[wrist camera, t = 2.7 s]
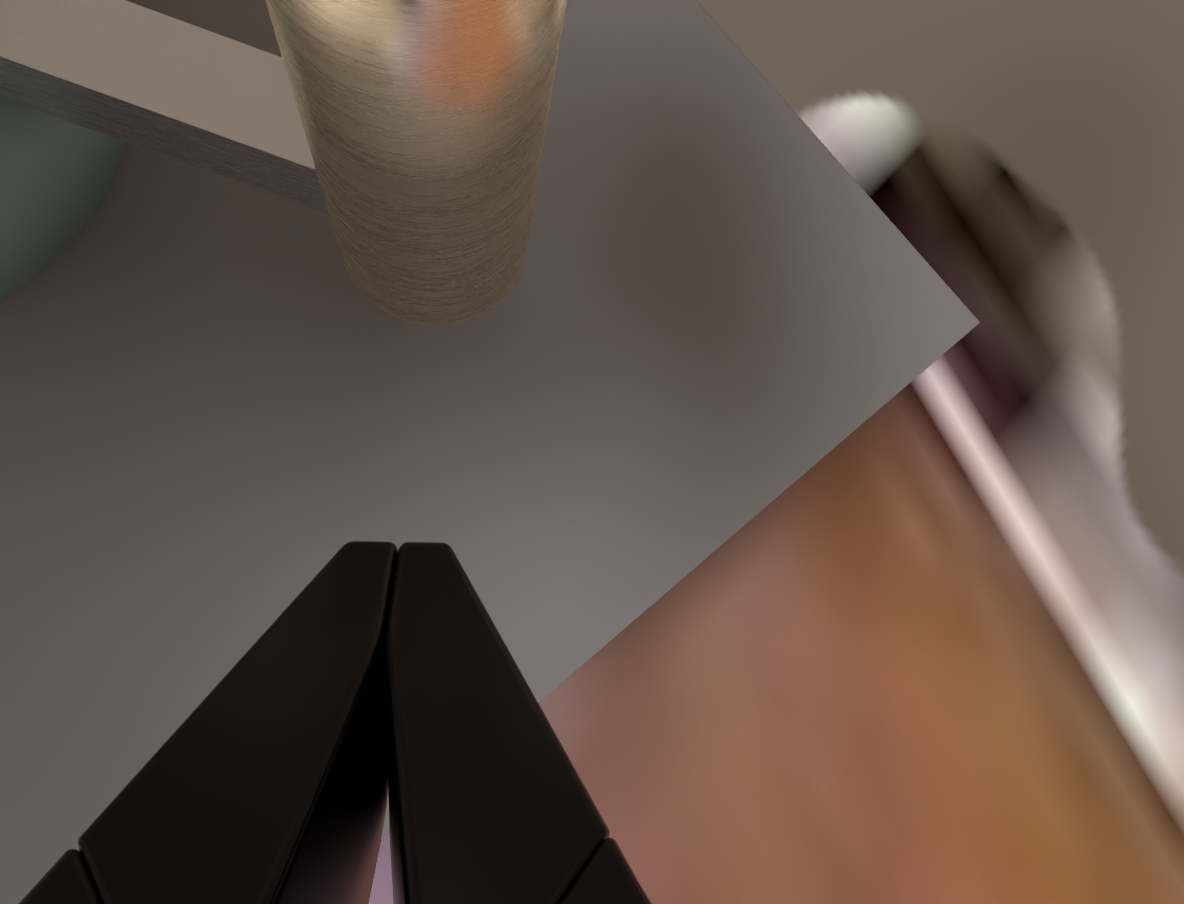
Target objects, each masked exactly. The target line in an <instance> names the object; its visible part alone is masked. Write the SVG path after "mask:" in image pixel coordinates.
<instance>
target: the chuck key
mask: <svg viewBox="0 0 1184 904" xmlns="http://www.w3.org/2000/svg"><path fill="white" fill-rule="evenodd" d="M265 2H266V5H267V9H268V12H269V15H270V19H271V22H272V25H273V29H274V32H275V35H276V39H277V42H278V45H279V49H280V52H281V55H282V57H279V56H277V55H274V54H271V53H268V52H266V51H263V50H260V49H257V48H255V47H252V46H249V45H247V44H244V43H241V42H238V41H236V40H233V39H230V38H227V37H225V36H222V35H219V34H216V33H214V32H211V31H208V30H205V29H203V28H200V27H197V26H195V25H192V24H189V23H186V22H184V21H181V20H178V19H175V18H173V17H170V16H167V15H164V14H162V13H159V12H156V11H154V10H151V9H148V8H145V7H143V6H140V5H137V4H134V3H132V2H129V1H126V0H0V97H1V98H3V99H6V100H9V101H12V102H15V103H17V104H20V105H23V106H26V107H29V108H31V109H34V110H37V111H40V112H43V113H45V114H48V115H51V116H54V117H57V118H59V119H62V120H65V121H68V122H71V123H73V124H76V125H79V126H82V127H85V128H87V129H90V130H93V131H96V132H99V133H101V134H104V135H107V136H110V137H113V138H115V139H118V140H121V141H124V142H127V143H129V144H132V145H135V146H138V147H141V148H143V149H146V150H149V151H152V152H155V153H157V154H160V155H163V156H166V157H169V158H171V159H174V160H177V161H180V162H183V163H185V164H188V165H191V166H194V167H197V168H199V169H202V170H205V171H208V172H211V173H213V174H216V175H219V176H222V177H225V178H227V179H230V180H233V181H236V182H239V183H241V184H244V185H247V186H250V187H253V188H255V189H258V190H261V191H264V192H267V193H269V194H272V195H275V196H278V197H281V198H283V199H286V200H289V201H292V202H295V203H297V204H300V205H303V206H306V207H309V208H311V209H314V210H317V211H320V212H323V213H325V214H328V215H329V216H330V220H331V223H332V226H333V230H334V233H335V236H336V240H337V243H338V246H339V250H340V253H341V256H342V260H343V263H344V265H345V268H346V270H347V273H348V275H349V276H350V278H351V280H352V282H353V283H354V285H355V286H356V287H357V289H358V290H359V291H360V292H361V294H362V295H363V296H364V297H365V298H366V299H367V300H368V301H369V302H371V303H372V304H373V305H375V306H376V307H377V308H379V309H380V310H382V311H383V312H385V313H387V314H389V315H390V316H393V317H395V318H397V319H400V320H402V321H406V322H409V323H413V324H418V325H425V326H446V325H453V324H458V323H462V322H466V321H468V320H471V319H474V318H476V317H478V316H480V315H482V314H484V313H486V312H487V311H489V310H490V309H492V308H493V307H495V306H496V305H497V304H498V303H499V302H500V301H502V300H503V299H504V298H505V297H506V295H507V294H508V293H509V292H510V291H511V289H512V288H513V286H514V285H515V283H516V282H517V280H518V278H519V276H520V274H521V271H522V269H523V266H524V262H525V259H526V253H527V247H528V241H529V235H530V228H531V222H532V216H533V210H534V203H535V197H536V191H537V185H538V178H539V172H540V166H541V160H542V153H543V147H544V141H545V135H546V128H547V122H548V116H549V110H550V103H551V97H552V91H553V85H554V78H555V72H556V66H557V60H558V53H559V47H560V41H561V35H562V28H563V22H564V16H565V10H566V3H567V0H265Z"/></svg>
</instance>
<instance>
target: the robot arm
mask: <svg viewBox="0 0 1184 904" xmlns="http://www.w3.org/2000/svg"><path fill="white" fill-rule="evenodd" d="M388 794H389V828H390V849H391V866H392V883H393V900H394V904H652V903H651V902H650V900H649V898H648V897H647V895H646V894H645V892H644V890H643V889H642V887H641V885H640V884H639V882H638V880H637V878H636V877H635V875H634V873H633V871H632V869H631V868H630V866H629V864H628V862H627V860H626V859H625V857H624V855H623V853H622V851H621V850H620V848H619V846H618V844H617V842H616V841H615V840H614V839H613V838H609V829H608V827H607V826H606V824H605V822H604V820H603V818H602V817H601V815H600V813H599V811H598V809H597V808H596V806H595V804H594V802H593V800H592V799H591V797H590V795H589V793H588V791H587V790H586V788H585V786H584V784H583V782H582V781H581V779H580V777H579V775H578V773H577V772H576V770H575V768H574V766H573V765H572V763H571V761H570V759H569V757H568V756H567V754H566V752H565V750H564V748H563V747H562V745H561V743H560V741H559V739H558V738H557V736H556V734H555V732H554V730H553V729H552V727H551V725H550V723H549V721H548V720H547V718H546V716H545V714H544V712H543V711H542V709H541V707H540V705H539V703H538V702H537V700H536V698H535V696H534V695H533V693H532V691H531V689H530V687H529V686H528V684H527V682H526V680H525V678H524V677H523V675H522V673H521V671H520V669H519V668H518V666H517V664H516V662H515V660H514V659H513V657H512V655H511V653H510V651H509V650H508V648H507V646H506V644H505V642H504V641H503V639H502V637H501V635H500V633H499V632H498V630H497V628H496V626H495V624H494V623H493V621H492V619H491V617H490V616H489V614H488V612H487V610H486V608H485V607H484V605H483V603H482V601H481V599H480V598H479V596H478V594H477V592H476V590H475V589H474V587H473V585H472V583H471V581H470V580H469V578H468V576H467V574H466V572H465V571H464V569H463V567H462V565H461V563H460V562H459V560H458V558H457V556H456V554H455V553H454V551H453V549H452V548H451V547H450V546H449V545H448V544H446V543H439V542H405V543H403V544H402V545H401V546H400V548H399V549H398V548H397V547H396V545H395V544H394V543H392V542H378V541H352V542H348V543H346V544H345V545H343V546H342V547H341V549H340V550H339V551H338V552H337V553H336V554H335V555H334V556H333V557H332V558H331V560H330V561H329V562H328V563H327V564H326V565H325V566H324V567H323V568H322V570H321V571H320V572H319V573H318V574H317V575H316V576H315V577H314V578H313V580H312V581H311V582H310V583H309V584H308V585H307V586H306V587H305V588H304V589H303V591H302V592H301V593H300V594H299V595H298V596H297V597H296V598H295V599H294V601H293V602H292V603H291V604H290V605H289V606H288V607H287V608H286V609H285V610H284V612H283V613H282V614H281V615H280V616H279V617H278V618H277V619H276V620H275V622H274V623H273V624H272V625H271V626H270V627H269V628H268V629H267V630H266V632H265V633H264V634H263V635H262V636H261V637H260V638H259V639H258V640H257V641H256V643H255V644H254V645H253V646H252V647H251V648H250V649H249V650H248V651H247V653H246V654H245V655H244V656H243V657H242V658H241V659H240V660H239V661H238V662H237V664H236V665H235V666H234V667H233V668H232V669H231V670H230V671H229V672H228V674H227V675H226V676H225V677H224V678H223V679H222V680H221V681H220V682H219V684H218V685H217V686H216V687H215V688H214V689H213V690H212V691H211V692H210V693H209V695H208V696H207V697H206V698H205V699H204V700H203V701H202V702H201V703H200V705H199V706H198V707H197V708H196V709H195V710H194V711H193V712H192V713H191V715H190V716H189V717H188V718H187V719H186V720H185V721H184V722H183V723H182V724H181V726H180V727H179V728H178V729H177V730H176V731H175V732H174V733H173V734H172V736H171V737H170V738H169V739H168V740H167V741H166V742H165V743H164V744H163V745H162V747H161V748H160V749H159V750H158V751H157V752H156V753H155V754H154V755H153V757H152V758H151V759H150V760H149V761H148V762H147V763H146V764H145V765H144V767H143V768H142V769H141V770H140V771H139V772H138V773H137V774H136V775H135V776H134V778H133V779H132V780H131V781H130V782H129V783H128V784H127V785H126V786H125V788H124V789H123V790H122V791H121V792H120V793H119V794H118V795H117V796H116V798H115V799H114V800H113V801H112V802H111V803H110V804H109V805H108V806H107V807H106V809H105V810H104V811H103V812H102V813H101V814H100V815H99V816H98V817H97V819H96V820H95V821H94V822H93V823H92V824H91V825H90V826H89V827H88V828H87V830H86V831H85V832H84V833H83V834H82V835H81V836H80V837H79V838H78V840H77V842H76V846H77V850H76V849H69V850H67V851H66V852H65V853H64V854H63V855H62V856H61V857H60V859H59V860H58V861H57V862H56V863H55V864H54V865H53V866H52V868H51V869H50V870H49V871H48V872H47V873H46V874H45V875H44V876H43V878H42V879H41V880H40V881H39V882H38V883H37V884H36V885H35V886H34V887H33V889H32V890H31V891H30V892H29V893H28V894H27V895H26V896H25V897H24V898H23V899H22V900H21V902H20V903H19V904H368V903H369V898H370V893H371V888H372V882H373V877H374V872H375V867H376V862H377V857H378V852H379V847H380V842H381V837H382V831H383V825H384V819H385V814H386V807H387V798H388Z"/></svg>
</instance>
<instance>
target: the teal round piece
mask: <svg viewBox="0 0 1184 904" xmlns="http://www.w3.org/2000/svg"><path fill="white" fill-rule="evenodd" d="M126 143H127V142H124V141H121V140H118V139H115V138H113V137H110V136H107V135H104V134H101V133H99V132H96V131H93V130H90V129H87V128H85V127H82V126H79V125H76V124H73V123H71V122H68V121H65V120H62V119H59V118H57V117H54V116H51V115H48V114H45V113H43V112H40V111H37V110H34V109H31V108H29V107H26V106H23V105H20V104H17V103H15V102H12V101H9V100H6V99H3V98H1V97H0V302H1V301H3V300H5V299H6V298H7V297H9V296H10V295H11V294H13V293H14V292H16V291H17V290H18V289H20V288H21V287H22V286H24V285H25V284H27V283H28V282H29V281H31V280H32V279H33V278H35V277H36V276H37V275H38V274H39V273H41V272H42V271H43V270H44V269H45V268H46V267H47V266H48V265H49V264H50V263H51V262H52V261H53V260H55V259H56V258H57V257H58V256H59V255H60V254H61V253H62V252H63V251H64V250H65V249H66V248H67V247H68V245H69V244H70V243H71V242H72V241H73V239H74V238H75V237H76V236H77V235H78V233H79V232H80V231H81V230H82V229H83V227H84V226H85V225H86V224H87V223H88V221H89V220H90V218H91V217H92V215H93V213H94V212H95V210H96V209H97V207H98V205H99V204H100V202H101V201H102V199H103V198H104V196H105V194H106V193H107V191H108V189H109V187H110V185H111V182H112V180H113V178H114V176H115V174H116V171H117V169H118V167H119V165H120V162H121V160H122V157H123V154H124V150H125V147H126Z"/></svg>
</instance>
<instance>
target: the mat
mask: <svg viewBox="0 0 1184 904" xmlns="http://www.w3.org/2000/svg"><path fill="white" fill-rule="evenodd" d="M126 1H129V2H132V3H134V4H137V5H140V6H143V7H145V8H148V9H151V10H154V11H156V12H159V13H162V14H164V15H167V16H170V17H173V18H175V19H178V20H181V21H184V22H186V23H189V24H192V25H195V26H197V27H200V28H203V29H205V30H208V31H211V32H214V33H216V34H219V35H222V36H225V37H227V38H230V39H233V40H236V41H238V42H241V43H244V44H247V45H249V46H252V47H255V48H257V49H260V50H263V51H266V52H268V53H271V54H274V55H277V56H279V57H282V55H281V52H280V49H279V45H278V42H277V39H276V35H275V32H274V29H273V25H272V22H271V19H270V15H269V12H268V9H267V5H266V2H265V0H126ZM979 323H980V322H979V321H978V320H977V319H976V317H975V316H974V315H973V314H972V313H971V312H970V311H969V310H968V308H967V307H966V306H965V305H964V304H963V303H962V302H961V300H960V299H959V298H958V297H957V296H956V295H955V294H954V292H953V291H952V290H951V289H950V288H949V287H948V286H947V285H946V283H945V282H944V281H943V280H942V279H941V278H940V277H939V275H938V274H937V273H936V272H935V271H934V270H933V269H932V267H931V266H930V265H929V264H928V263H927V262H926V261H925V260H924V258H923V257H922V256H921V255H920V254H919V253H918V252H917V250H916V249H915V248H914V247H913V246H912V245H911V244H910V242H909V241H908V240H907V239H906V238H905V237H904V236H903V235H902V233H901V232H900V231H899V230H898V229H897V228H896V227H895V225H894V224H893V223H892V222H891V221H890V220H889V219H888V217H887V216H886V215H885V214H884V213H883V212H882V211H881V210H880V208H879V207H878V206H877V205H876V204H875V203H874V202H873V200H872V199H871V198H870V197H869V196H868V195H867V194H866V192H865V191H864V190H863V189H862V188H861V187H860V186H859V184H858V183H857V182H856V181H855V180H854V179H853V178H852V177H851V175H850V174H849V173H848V172H847V171H846V170H845V169H844V167H843V166H842V165H841V164H840V163H839V162H838V161H837V159H836V158H835V157H834V156H833V155H832V154H831V153H830V152H829V150H828V149H827V148H826V147H825V146H824V145H823V144H822V142H821V141H820V140H819V139H818V138H817V137H816V136H815V134H814V133H813V132H812V131H811V130H810V129H809V128H808V127H807V125H806V124H805V123H804V122H803V121H802V120H801V119H800V117H799V116H798V115H797V114H796V113H795V112H794V111H793V109H792V108H791V107H790V106H789V105H788V104H787V103H786V102H785V100H784V99H783V98H782V97H781V96H780V95H779V94H778V92H777V91H776V90H775V89H774V88H773V87H772V86H771V84H769V82H768V81H767V80H766V79H765V78H764V77H763V75H762V74H761V73H760V72H759V71H758V70H757V69H756V67H755V66H754V65H753V64H752V63H751V62H750V61H749V59H748V58H747V57H746V56H745V55H744V54H743V53H742V52H741V51H740V49H739V48H738V47H737V46H736V45H735V44H734V43H733V41H732V40H731V39H730V38H729V37H728V36H727V34H726V33H725V32H724V31H723V30H722V29H721V28H720V27H719V25H718V24H717V23H716V22H715V21H714V20H713V19H712V17H711V16H710V15H709V14H708V13H707V12H706V11H705V9H704V8H703V7H702V6H701V5H700V4H699V3H698V1H697V0H567V3H566V10H565V16H564V22H563V28H562V35H561V41H560V47H559V53H558V60H557V66H556V72H555V78H554V85H553V91H552V97H551V103H550V110H549V116H548V122H547V128H546V135H545V141H544V147H543V153H542V160H541V166H540V172H539V178H538V185H537V191H536V197H535V203H534V210H533V216H532V222H531V228H530V235H529V241H528V247H527V253H526V259H525V262H524V266H523V269H522V271H521V274H520V276H519V278H518V280H517V282H516V283H515V285H514V286H513V288H512V289H511V291H510V292H509V293H508V294H507V295H506V297H505V298H504V299H503V300H502V301H500V302H499V303H498V304H497V305H496V306H495V307H493V308H492V309H490V310H489V311H487V312H486V313H484V314H482V315H480V316H478V317H476V318H474V319H471V320H468V321H466V322H462V323H458V324H453V325H446V326H425V325H418V324H413V323H409V322H406V321H402V320H400V319H397V318H395V317H393V316H390V315H389V314H387V313H385V312H383V311H382V310H380V309H379V308H377V307H376V306H375V305H373V304H372V303H371V302H369V301H368V300H367V299H366V298H365V297H364V296H363V295H362V294H361V292H360V291H359V290H358V289H357V287H356V286H355V285H354V283H353V282H352V280H351V278H350V276H349V275H348V273H347V270H346V268H345V265H344V263H343V260H342V256H341V253H340V250H339V246H338V243H337V240H336V236H335V233H334V230H333V226H332V223H331V220H330V216H329V215H328V214H325V213H323V212H320V211H317V210H314V209H311V208H309V207H306V206H303V205H300V204H297V203H295V202H292V201H289V200H286V199H283V198H281V197H278V196H275V195H272V194H269V193H267V192H264V191H261V190H258V189H255V188H253V187H250V186H247V185H244V184H241V183H239V182H236V181H233V180H230V179H227V178H225V177H222V176H219V175H216V174H213V173H211V172H208V171H205V170H202V169H199V168H197V167H194V166H191V165H188V164H185V163H183V162H180V161H177V160H174V159H171V158H169V157H166V156H163V155H160V154H157V153H155V152H152V151H149V150H146V149H143V148H141V147H138V146H135V145H132V144H129V143H126V147H125V150H124V154H123V157H122V160H121V162H120V165H119V167H118V169H117V171H116V174H115V176H114V178H113V180H112V182H111V185H110V187H109V189H108V191H107V193H106V194H105V196H104V198H103V199H102V201H101V202H100V204H99V205H98V207H97V209H96V210H95V212H94V213H93V215H92V217H91V218H90V220H89V221H88V223H87V224H86V225H85V226H84V227H83V229H82V230H81V231H80V232H79V233H78V235H77V236H76V237H75V238H74V239H73V241H72V242H71V243H70V244H69V245H68V247H67V248H66V249H65V250H64V251H63V252H62V253H61V254H60V255H59V256H58V257H57V258H56V259H55V260H53V261H52V262H51V263H50V264H49V265H48V266H47V267H46V268H45V269H44V270H43V271H42V272H41V273H39V274H38V275H37V276H36V277H35V278H33V279H32V280H31V281H29V282H28V283H27V284H25V285H24V286H22V287H21V288H20V289H18V290H17V291H16V292H14V293H13V294H11V295H10V296H9V297H7V298H6V299H5V300H3V301H1V302H0V904H19V903H20V902H21V900H22V899H23V898H24V897H25V896H26V895H27V894H28V893H29V892H30V891H31V890H32V889H33V887H34V886H35V885H36V884H37V883H38V882H39V881H40V880H41V879H42V878H43V876H44V875H45V874H46V873H47V872H48V871H49V870H50V869H51V868H52V866H53V865H54V864H55V863H56V862H57V861H58V860H59V859H60V857H61V856H62V855H63V854H64V853H65V852H66V851H67V850H69V849H76V850H77V846H76V842H77V840H78V838H79V837H80V836H81V835H82V834H83V833H84V832H85V831H86V830H87V828H88V827H89V826H90V825H91V824H92V823H93V822H94V821H95V820H96V819H97V817H98V816H99V815H100V814H101V813H102V812H103V811H104V810H105V809H106V807H107V806H108V805H109V804H110V803H111V802H112V801H113V800H114V799H115V798H116V796H117V795H118V794H119V793H120V792H121V791H122V790H123V789H124V788H125V786H126V785H127V784H128V783H129V782H130V781H131V780H132V779H133V778H134V776H135V775H136V774H137V773H138V772H139V771H140V770H141V769H142V768H143V767H144V765H145V764H146V763H147V762H148V761H149V760H150V759H151V758H152V757H153V755H154V754H155V753H156V752H157V751H158V750H159V749H160V748H161V747H162V745H163V744H164V743H165V742H166V741H167V740H168V739H169V738H170V737H171V736H172V734H173V733H174V732H175V731H176V730H177V729H178V728H179V727H180V726H181V724H182V723H183V722H184V721H185V720H186V719H187V718H188V717H189V716H190V715H191V713H192V712H193V711H194V710H195V709H196V708H197V707H198V706H199V705H200V703H201V702H202V701H203V700H204V699H205V698H206V697H207V696H208V695H209V693H210V692H211V691H212V690H213V689H214V688H215V687H216V686H217V685H218V684H219V682H220V681H221V680H222V679H223V678H224V677H225V676H226V675H227V674H228V672H229V671H230V670H231V669H232V668H233V667H234V666H235V665H236V664H237V662H238V661H239V660H240V659H241V658H242V657H243V656H244V655H245V654H246V653H247V651H248V650H249V649H250V648H251V647H252V646H253V645H254V644H255V643H256V641H257V640H258V639H259V638H260V637H261V636H262V635H263V634H264V633H265V632H266V630H267V629H268V628H269V627H270V626H271V625H272V624H273V623H274V622H275V620H276V619H277V618H278V617H279V616H280V615H281V614H282V613H283V612H284V610H285V609H286V608H287V607H288V606H289V605H290V604H291V603H292V602H293V601H294V599H295V598H296V597H297V596H298V595H299V594H300V593H301V592H302V591H303V589H304V588H305V587H306V586H307V585H308V584H309V583H310V582H311V581H312V580H313V578H314V577H315V576H316V575H317V574H318V573H319V572H320V571H321V570H322V568H323V567H324V566H325V565H326V564H327V563H328V562H329V561H330V560H331V558H332V557H333V556H334V555H335V554H336V553H337V552H338V551H339V550H340V549H341V547H342V546H343V545H345V544H346V543H348V542H352V541H378V542H392V543H394V544H395V545H396V547H397V548H398V549H399V548H400V546H401V545H402V544H403V543H405V542H439V543H446V544H448V545H449V546H450V547H451V548H452V549H453V551H454V553H455V554H456V556H457V558H458V560H459V562H460V563H461V565H462V567H463V569H464V571H465V572H466V574H467V576H468V578H469V580H470V581H471V583H472V585H473V587H474V589H475V590H476V592H477V594H478V596H479V598H480V599H481V601H482V603H483V605H484V607H485V608H486V610H487V612H488V614H489V616H490V617H491V619H492V621H493V623H494V624H495V626H496V628H497V630H498V632H499V633H500V635H501V637H502V639H503V641H504V642H505V644H506V646H507V648H508V650H509V651H510V653H511V655H512V657H513V659H514V660H515V662H516V664H517V666H518V668H519V669H520V671H521V673H522V675H523V677H524V678H525V680H526V682H527V684H528V686H529V687H530V689H531V691H532V693H533V695H534V696H535V698H536V700H537V702H538V703H539V702H540V701H541V700H542V699H543V698H544V697H546V696H547V695H548V694H549V693H550V692H551V691H553V690H554V689H555V688H556V687H557V686H558V685H559V684H561V683H562V682H563V681H564V680H565V679H566V678H568V677H569V676H570V675H571V674H572V673H573V672H575V671H576V670H577V669H578V668H579V667H580V666H582V665H583V664H584V663H585V662H586V661H587V660H589V659H590V658H591V657H592V656H593V655H594V654H595V653H597V652H598V651H599V650H600V649H601V648H602V647H604V646H605V645H606V644H607V643H608V642H609V641H611V640H612V639H613V638H614V637H615V636H616V635H618V634H619V633H620V632H621V631H622V630H623V629H625V628H626V627H627V626H628V625H629V624H630V623H631V622H633V621H634V620H635V619H636V618H637V617H638V616H640V615H641V614H642V613H643V612H644V611H645V610H647V609H648V608H649V607H650V606H651V605H652V604H654V603H655V602H656V601H657V600H658V599H659V598H661V597H662V596H663V595H664V594H665V593H666V592H667V591H669V590H670V589H671V588H672V587H673V586H674V585H676V584H677V583H678V582H679V581H680V580H681V579H683V578H684V577H685V576H686V575H687V574H688V573H690V572H691V571H692V570H693V569H694V568H695V567H697V566H698V565H699V564H700V563H701V562H702V561H703V560H705V559H706V558H707V557H708V556H709V555H710V554H712V553H713V552H714V551H715V550H716V549H717V548H719V547H720V546H721V545H722V544H723V543H724V542H726V541H727V540H728V539H729V538H730V537H731V536H733V535H734V534H735V533H736V532H737V531H738V530H739V529H741V528H742V527H743V526H744V525H745V524H746V523H748V522H749V521H750V520H751V519H752V518H753V517H755V516H756V515H757V514H758V513H759V512H760V511H762V510H763V509H764V508H765V507H766V506H767V505H769V504H770V503H771V502H772V501H773V500H774V499H775V498H777V497H778V496H779V495H780V494H781V493H782V492H784V491H785V490H786V489H787V488H788V487H789V486H791V485H792V484H793V483H794V482H795V481H796V480H798V479H799V478H800V477H801V476H802V475H803V474H804V473H806V472H807V471H808V470H809V469H810V468H811V467H813V466H814V465H815V464H816V463H817V462H818V461H820V460H821V459H822V458H823V457H824V456H825V455H827V454H828V453H829V452H830V451H831V450H832V449H834V448H835V447H836V446H837V445H838V444H839V443H840V442H842V441H843V440H844V439H845V438H846V437H847V436H849V435H850V434H851V433H852V432H853V431H854V430H856V429H857V428H858V427H859V426H860V425H861V424H863V423H864V422H865V421H866V420H867V419H868V418H870V417H871V416H872V415H873V414H874V413H875V412H876V411H878V410H879V409H880V408H881V407H882V406H883V405H885V404H886V403H887V402H888V401H889V400H890V399H892V398H893V397H894V396H895V395H896V394H897V393H899V392H900V391H901V390H902V389H903V388H904V387H906V386H907V385H908V384H909V383H910V382H911V381H912V380H914V379H915V378H916V377H917V376H918V375H919V374H921V373H922V372H923V371H924V370H925V369H926V368H928V367H929V366H930V365H931V364H932V363H933V362H935V361H936V360H937V359H938V358H939V357H940V356H942V355H943V354H944V353H945V352H946V351H947V350H948V349H950V348H951V347H952V346H953V345H954V344H955V343H957V342H958V341H959V340H960V339H961V338H962V337H964V336H965V335H966V334H967V333H968V332H969V331H971V330H972V329H973V328H974V327H975V326H976V325H978V324H979ZM389 831H390V828H389V794H388V798H387V807H386V814H385V819H384V825H383V831H382V837H383V836H384V835H385V834H386V833H388V832H389ZM382 837H381V838H382Z"/></svg>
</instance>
